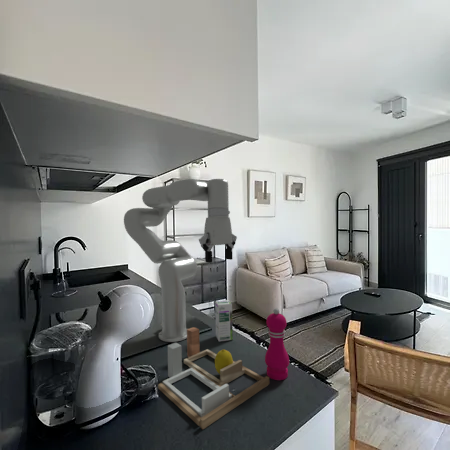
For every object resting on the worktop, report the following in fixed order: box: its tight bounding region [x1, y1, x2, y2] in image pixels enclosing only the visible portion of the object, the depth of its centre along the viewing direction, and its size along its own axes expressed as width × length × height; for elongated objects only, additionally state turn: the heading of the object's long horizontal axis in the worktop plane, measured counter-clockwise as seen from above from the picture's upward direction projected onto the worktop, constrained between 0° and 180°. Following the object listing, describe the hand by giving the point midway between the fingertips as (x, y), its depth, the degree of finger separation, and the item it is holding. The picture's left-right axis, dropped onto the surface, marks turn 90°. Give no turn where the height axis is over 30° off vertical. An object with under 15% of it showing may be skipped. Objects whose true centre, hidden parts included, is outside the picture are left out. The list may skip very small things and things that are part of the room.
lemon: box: [214, 348, 234, 375], centre depth 80 cm, size 6×6×8 cm
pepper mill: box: [264, 308, 290, 381], centre depth 80 cm, size 7×7×20 cm
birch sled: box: [183, 327, 245, 386], centre depth 85 cm, size 21×10×9 cm, turn 42°
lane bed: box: [157, 360, 270, 430], centre depth 75 cm, size 20×24×2 cm
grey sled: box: [162, 342, 232, 418], centre depth 73 cm, size 21×10×9 cm, turn 42°
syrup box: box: [214, 299, 234, 343], centre depth 106 cm, size 6×6×14 cm
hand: (219, 260), depth 97 cm, fingers open, 9 cm apart
